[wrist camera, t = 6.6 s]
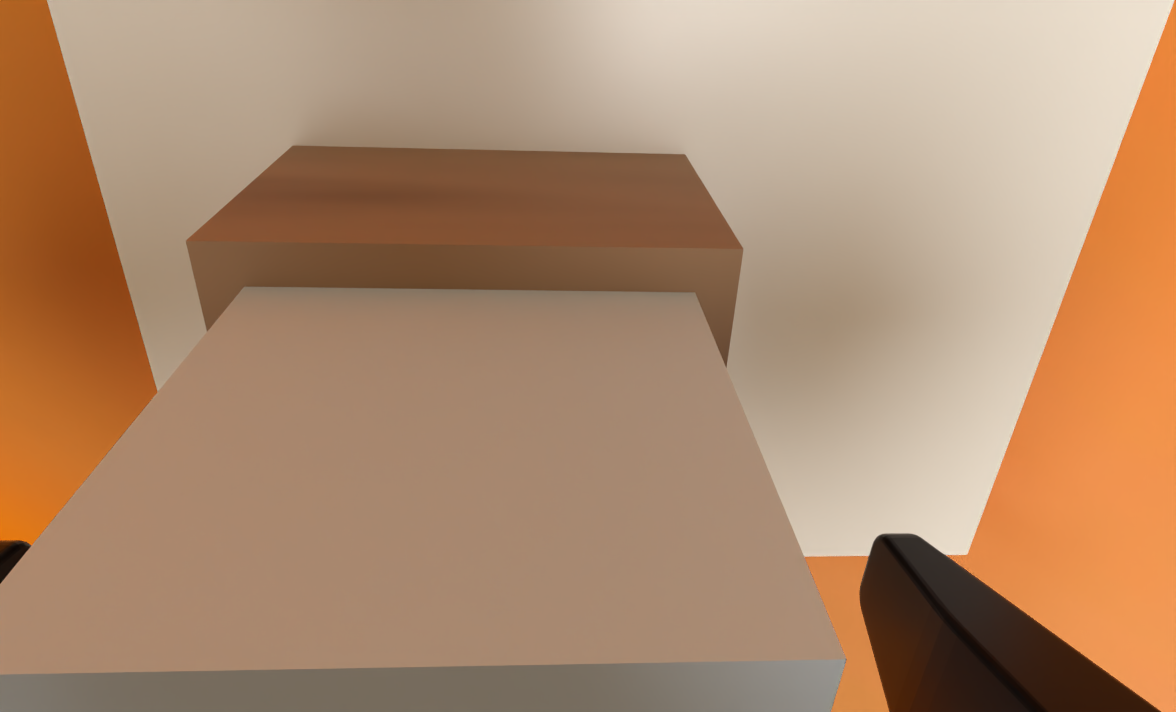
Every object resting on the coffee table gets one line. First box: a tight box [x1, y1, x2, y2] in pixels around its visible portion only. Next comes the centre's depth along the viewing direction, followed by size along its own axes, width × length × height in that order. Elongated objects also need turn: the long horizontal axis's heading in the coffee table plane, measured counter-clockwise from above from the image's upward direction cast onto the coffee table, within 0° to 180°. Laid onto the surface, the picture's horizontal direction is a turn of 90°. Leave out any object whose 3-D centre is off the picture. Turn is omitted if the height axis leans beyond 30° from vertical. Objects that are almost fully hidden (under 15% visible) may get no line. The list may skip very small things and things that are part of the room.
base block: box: [186, 146, 744, 368], centre depth 12 cm, size 6×6×4 cm
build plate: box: [47, 0, 1174, 556], centre depth 14 cm, size 11×16×1 cm
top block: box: [0, 287, 846, 712], centre depth 8 cm, size 5×5×5 cm
